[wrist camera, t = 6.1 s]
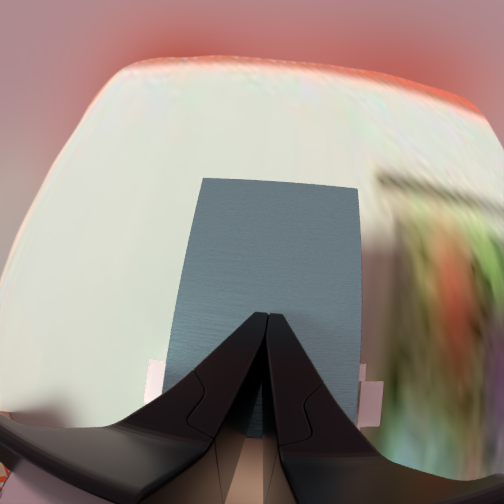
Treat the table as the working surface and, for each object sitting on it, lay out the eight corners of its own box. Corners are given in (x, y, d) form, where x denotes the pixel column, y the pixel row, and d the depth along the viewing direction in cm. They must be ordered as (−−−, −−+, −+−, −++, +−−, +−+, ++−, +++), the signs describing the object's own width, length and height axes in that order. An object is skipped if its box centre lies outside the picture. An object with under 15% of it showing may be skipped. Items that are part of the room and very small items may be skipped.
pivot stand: (355, 433, 18) (385, 449, 12) (167, 415, 19) (132, 423, 14) (362, 364, 20) (393, 356, 14) (177, 347, 21) (145, 333, 16)
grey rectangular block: (352, 442, 8) (357, 188, 11) (158, 421, 8) (203, 178, 12) (325, 424, 12) (335, 244, 16) (194, 411, 13) (221, 236, 17)
